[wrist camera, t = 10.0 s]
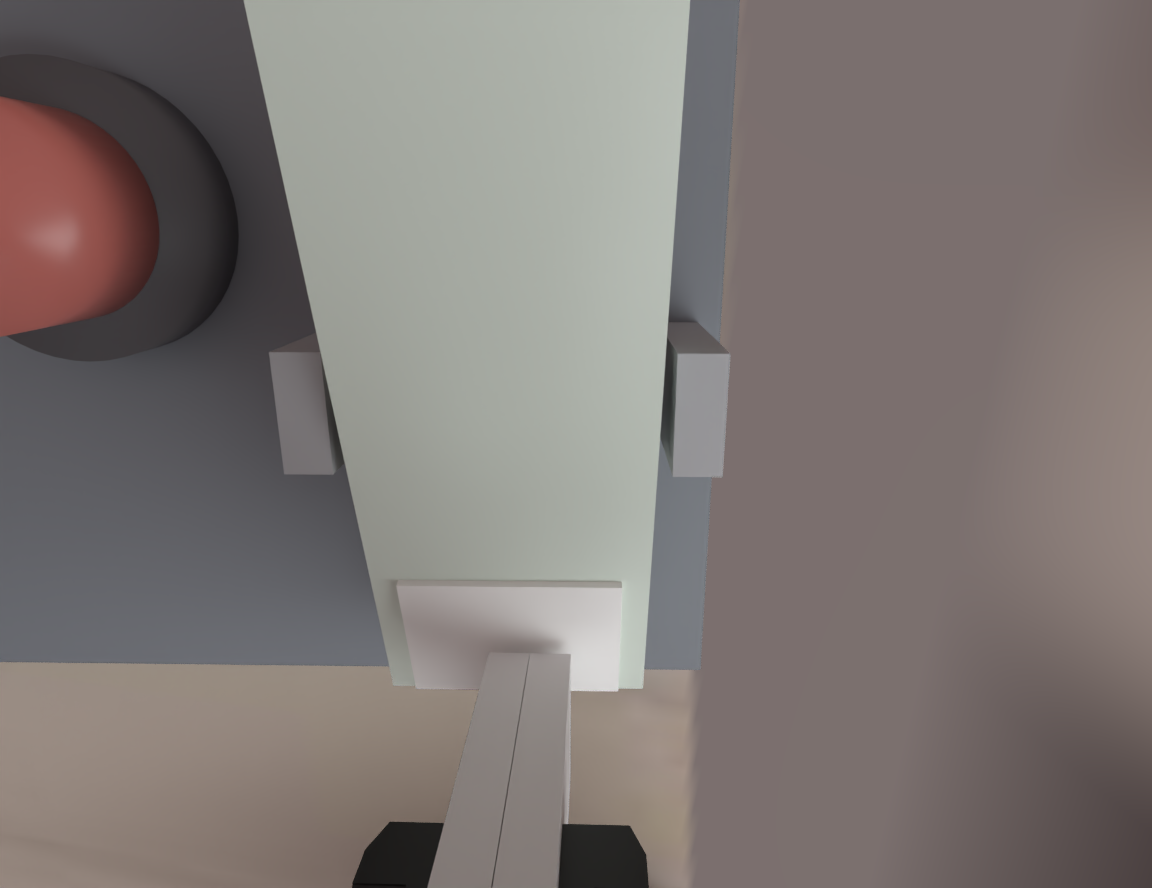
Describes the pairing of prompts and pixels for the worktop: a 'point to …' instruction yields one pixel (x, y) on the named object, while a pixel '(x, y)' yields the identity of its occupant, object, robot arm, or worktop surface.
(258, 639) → the console
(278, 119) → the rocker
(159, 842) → the worktop surface
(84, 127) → the button
